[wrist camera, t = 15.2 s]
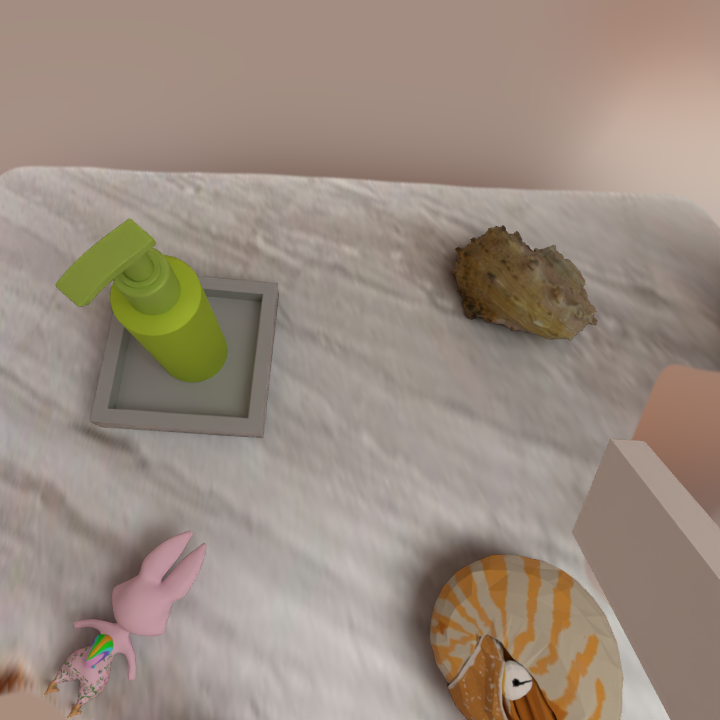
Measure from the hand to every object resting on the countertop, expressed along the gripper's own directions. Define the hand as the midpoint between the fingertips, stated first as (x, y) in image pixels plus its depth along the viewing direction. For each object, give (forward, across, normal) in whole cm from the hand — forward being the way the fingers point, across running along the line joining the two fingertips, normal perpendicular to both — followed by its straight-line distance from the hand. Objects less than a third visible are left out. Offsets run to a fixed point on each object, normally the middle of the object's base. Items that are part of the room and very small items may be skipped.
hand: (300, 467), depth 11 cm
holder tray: (+34, -11, -16) cm, 39 cm away
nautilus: (+16, +18, -35) cm, 42 cm away
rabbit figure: (+19, -12, -32) cm, 39 cm away
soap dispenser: (+34, -11, -16) cm, 39 cm away
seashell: (+41, +20, -10) cm, 46 cm away
